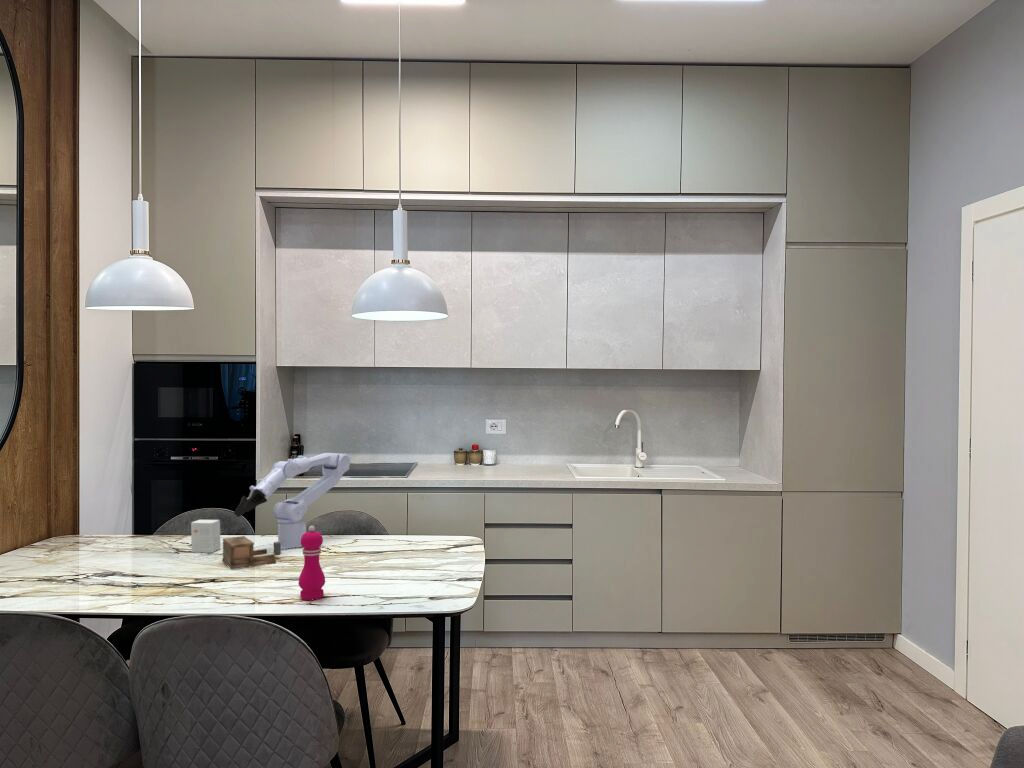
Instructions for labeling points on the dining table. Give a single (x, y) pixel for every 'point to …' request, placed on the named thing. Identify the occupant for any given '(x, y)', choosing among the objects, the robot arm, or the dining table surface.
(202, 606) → the dining table surface
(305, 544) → the pepper mill
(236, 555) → the tan piece
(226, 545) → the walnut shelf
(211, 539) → the small box
